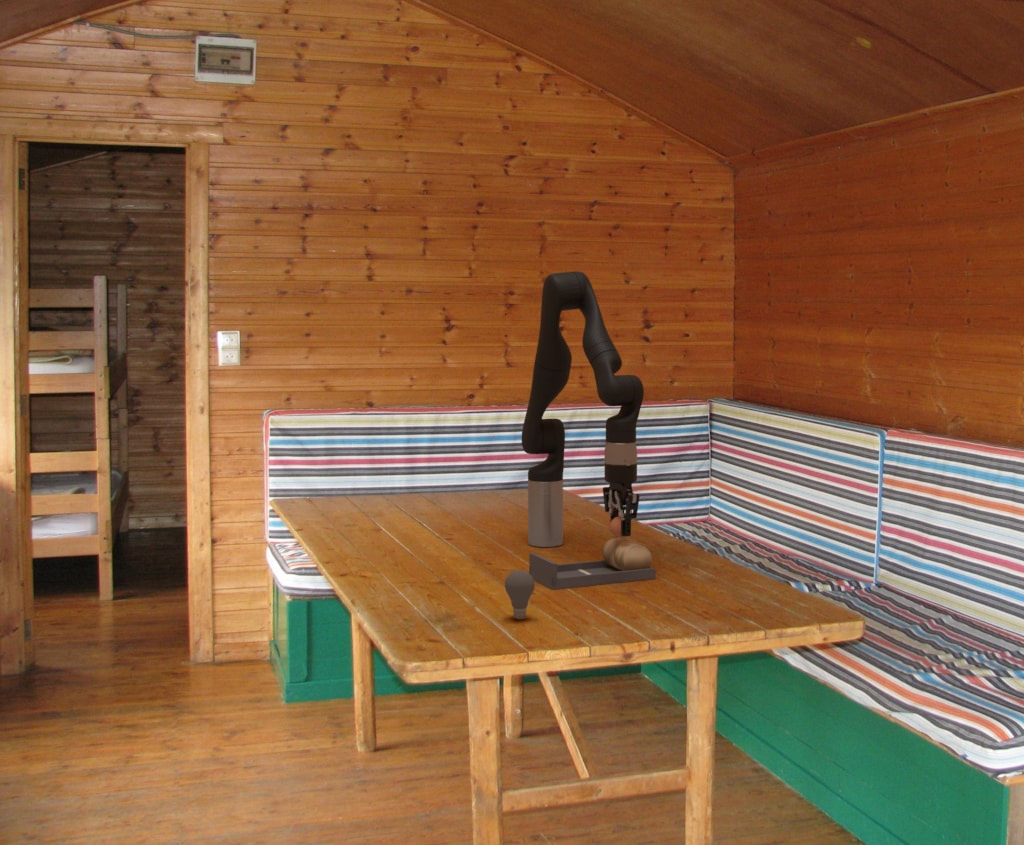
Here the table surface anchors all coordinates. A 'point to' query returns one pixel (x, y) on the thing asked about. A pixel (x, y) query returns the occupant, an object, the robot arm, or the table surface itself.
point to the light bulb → (519, 591)
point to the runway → (581, 573)
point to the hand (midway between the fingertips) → (620, 533)
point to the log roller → (626, 555)
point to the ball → (616, 526)
